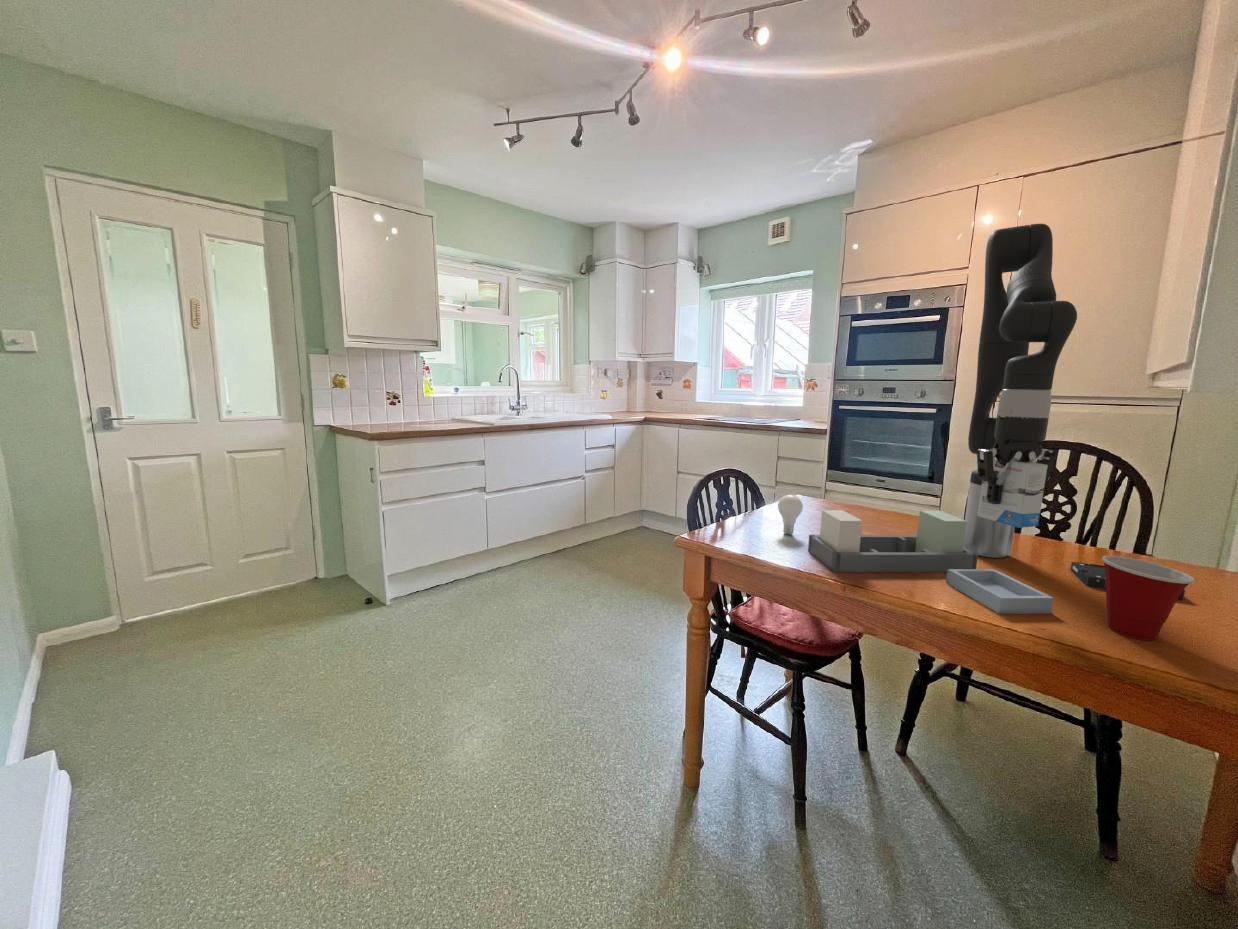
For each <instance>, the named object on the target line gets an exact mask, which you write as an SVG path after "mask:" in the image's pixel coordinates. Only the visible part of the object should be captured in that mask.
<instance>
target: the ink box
mask: <svg viewBox="0 0 1238 929" xmlns="http://www.w3.org/2000/svg"><path fill="white" fill-rule="evenodd" d="M996 460H997V459H996V457H995V459H993V463H994V461H996ZM996 466H997V467H999V468H1004V467H1005V466H1003V465H1001V464H999V462H998V461H997V463H996ZM1047 467H1048V465H1045V464H1039V463H1028V462H1012V467H1011V473H1010V474H1009V475H1007V476H1006V478H1005V479H1004V481H1003V483H1002V484H1001V485H1002V486H1003V489H1002V495H1001V502H1000V504H992V503H989V502H988V500H987V490H988V482H987V481H984V480H982V485H981V492H980V499H979V506H978V513H977V516H979V517H983V518H986V519H990V520H993V521H997V522H1000V523H1004V524H1007V525H1011V526H1014V527H1015V528H1019V529H1020V528H1031V527H1039V522H1040V516H1041V509H1042V503H1043V497H1044V491H1045V486H1046V485H1045V484H1046V482H1045V479H1046V473H1047ZM998 474H999V472H998V473H997V476H998ZM996 478H997V477H996Z"/></svg>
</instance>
